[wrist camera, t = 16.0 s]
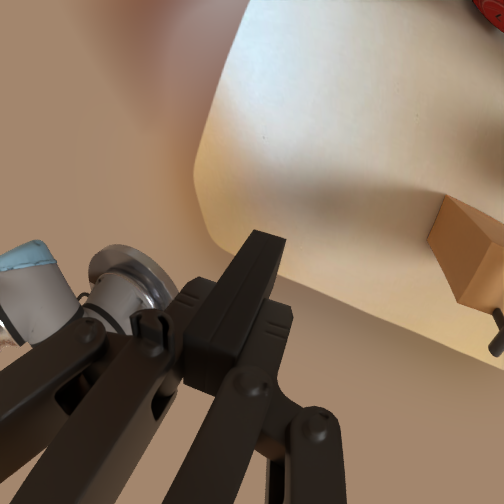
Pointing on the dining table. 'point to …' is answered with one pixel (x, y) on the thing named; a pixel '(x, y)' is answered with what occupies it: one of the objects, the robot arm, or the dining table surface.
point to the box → (472, 260)
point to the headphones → (492, 11)
